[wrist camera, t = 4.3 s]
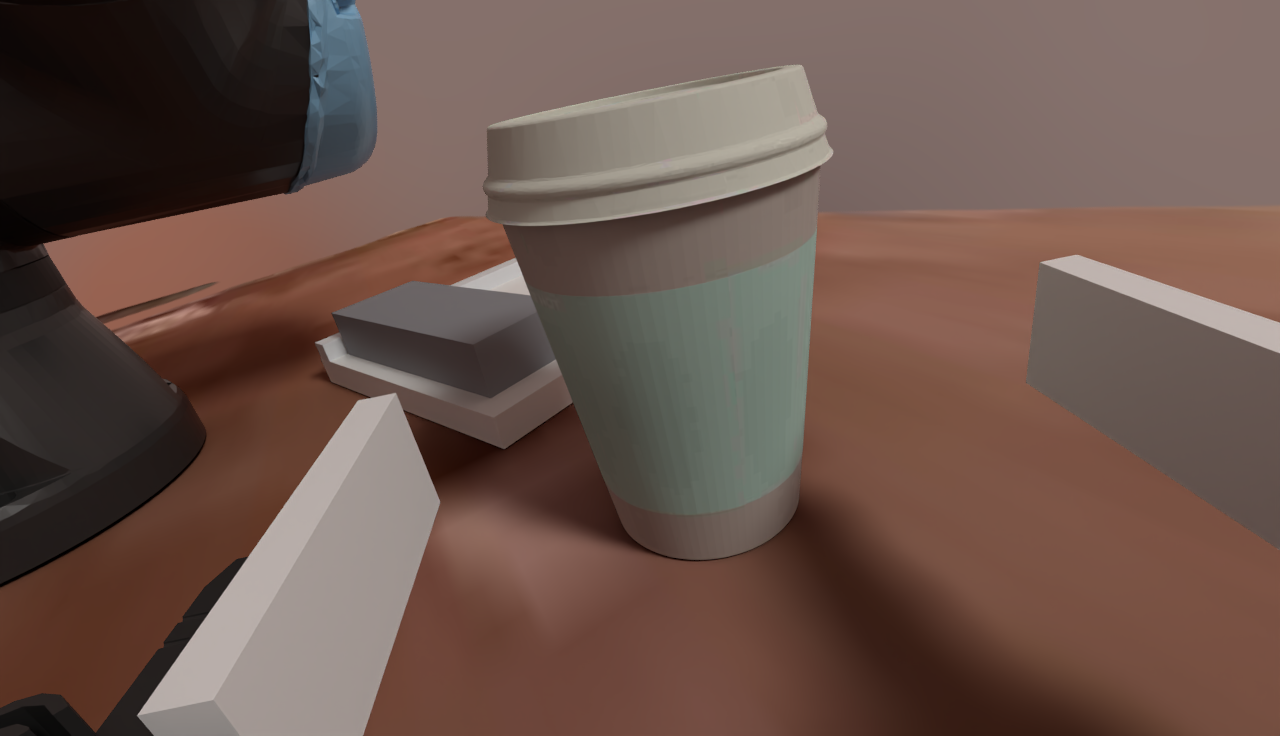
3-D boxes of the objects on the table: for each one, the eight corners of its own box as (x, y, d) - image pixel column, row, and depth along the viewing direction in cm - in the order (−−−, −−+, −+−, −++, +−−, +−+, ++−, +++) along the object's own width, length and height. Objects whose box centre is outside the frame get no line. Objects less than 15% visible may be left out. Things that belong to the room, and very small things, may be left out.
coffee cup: (833, 418, 22) (816, 56, 17) (864, 605, 15) (852, 62, 10) (610, 429, 24) (536, 110, 19) (540, 597, 17) (386, 149, 12)
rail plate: (504, 449, 24) (475, 361, 23) (331, 381, 34) (301, 317, 33) (810, 239, 42) (807, 182, 41) (638, 236, 52) (629, 189, 51)
